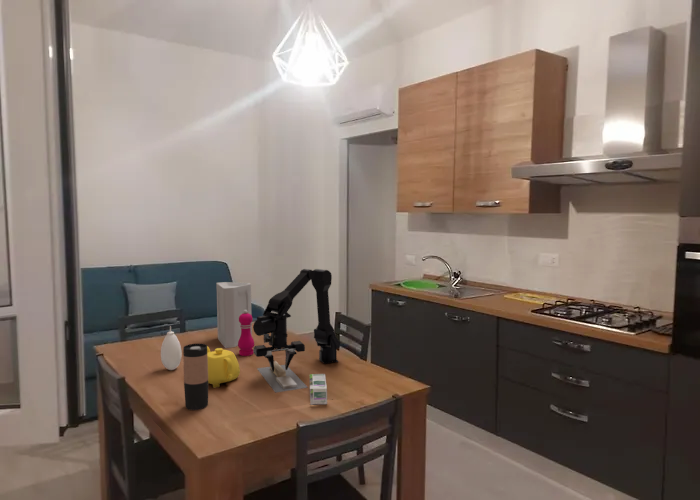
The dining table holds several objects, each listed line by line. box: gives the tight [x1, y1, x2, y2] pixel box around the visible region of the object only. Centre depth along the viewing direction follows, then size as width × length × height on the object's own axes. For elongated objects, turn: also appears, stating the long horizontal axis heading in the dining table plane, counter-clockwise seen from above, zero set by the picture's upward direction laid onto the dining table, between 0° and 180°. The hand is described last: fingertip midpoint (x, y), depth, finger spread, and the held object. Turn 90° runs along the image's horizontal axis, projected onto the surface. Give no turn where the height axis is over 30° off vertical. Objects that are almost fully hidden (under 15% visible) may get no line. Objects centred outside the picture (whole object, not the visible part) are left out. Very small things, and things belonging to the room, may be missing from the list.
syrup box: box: [309, 373, 328, 406], centre depth 170 cm, size 6×6×14 cm
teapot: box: [207, 345, 241, 389], centre depth 186 cm, size 14×20×13 cm
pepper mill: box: [237, 310, 255, 357], centre depth 219 cm, size 7×7×20 cm
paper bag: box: [216, 281, 253, 349], centre depth 240 cm, size 19×15×28 cm
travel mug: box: [182, 343, 209, 411], centre depth 162 cm, size 8×8×20 cm
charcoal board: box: [256, 364, 309, 393], centre depth 187 cm, size 12×28×1 cm, turn 24°
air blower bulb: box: [160, 325, 183, 371], centre depth 199 cm, size 8×8×18 cm
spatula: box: [269, 360, 297, 389], centre depth 186 cm, size 5×24×3 cm, turn 24°
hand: (279, 370), depth 188 cm, fingers open, 5 cm apart
